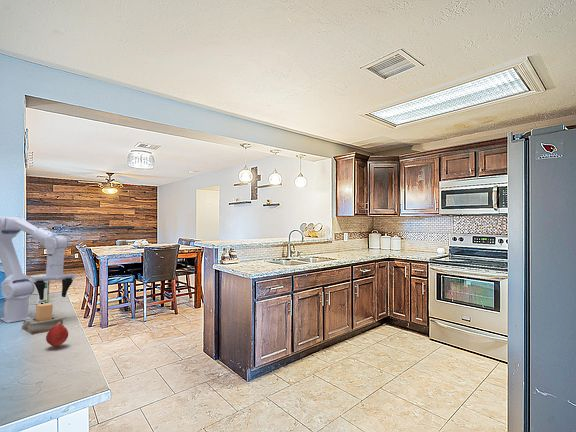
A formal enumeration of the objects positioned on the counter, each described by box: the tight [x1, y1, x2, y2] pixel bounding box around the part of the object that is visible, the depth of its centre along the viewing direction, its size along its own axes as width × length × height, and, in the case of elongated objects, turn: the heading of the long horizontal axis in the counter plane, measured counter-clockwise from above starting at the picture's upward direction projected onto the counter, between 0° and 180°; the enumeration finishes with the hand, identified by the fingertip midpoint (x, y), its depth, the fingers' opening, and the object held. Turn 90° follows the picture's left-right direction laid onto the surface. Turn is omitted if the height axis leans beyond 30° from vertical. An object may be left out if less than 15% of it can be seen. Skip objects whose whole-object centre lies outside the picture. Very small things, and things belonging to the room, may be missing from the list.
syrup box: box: [29, 273, 51, 305], centre depth 162 cm, size 6×6×14 cm
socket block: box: [21, 314, 65, 335], centre depth 122 cm, size 11×10×4 cm
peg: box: [34, 302, 54, 322], centre depth 122 cm, size 4×4×8 cm
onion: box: [45, 322, 69, 348], centre depth 103 cm, size 6×6×8 cm
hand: (52, 298), depth 130 cm, fingers open, 7 cm apart
